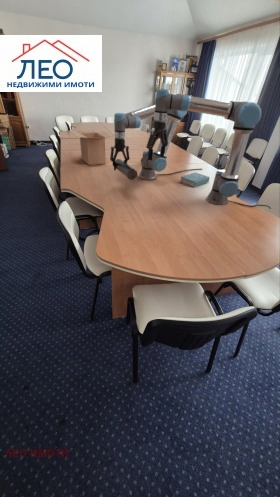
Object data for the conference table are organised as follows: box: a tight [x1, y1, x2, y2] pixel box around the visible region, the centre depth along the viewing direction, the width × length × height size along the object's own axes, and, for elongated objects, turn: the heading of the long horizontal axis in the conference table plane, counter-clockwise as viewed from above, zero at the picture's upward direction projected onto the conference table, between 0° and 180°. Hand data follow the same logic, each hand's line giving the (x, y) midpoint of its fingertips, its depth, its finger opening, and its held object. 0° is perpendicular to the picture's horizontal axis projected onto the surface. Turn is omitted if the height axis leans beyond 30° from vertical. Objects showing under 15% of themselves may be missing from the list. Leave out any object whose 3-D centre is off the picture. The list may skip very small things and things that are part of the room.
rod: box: [115, 158, 138, 181], centre depth 165 cm, size 27×8×8 cm, turn 26°
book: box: [179, 171, 210, 188], centre depth 200 cm, size 23×16×5 cm
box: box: [70, 129, 114, 166], centre depth 229 cm, size 44×36×27 cm
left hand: (119, 169), depth 174 cm, fingers closed on rod, 8 cm apart
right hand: (156, 158), depth 144 cm, fingers open, 13 cm apart
